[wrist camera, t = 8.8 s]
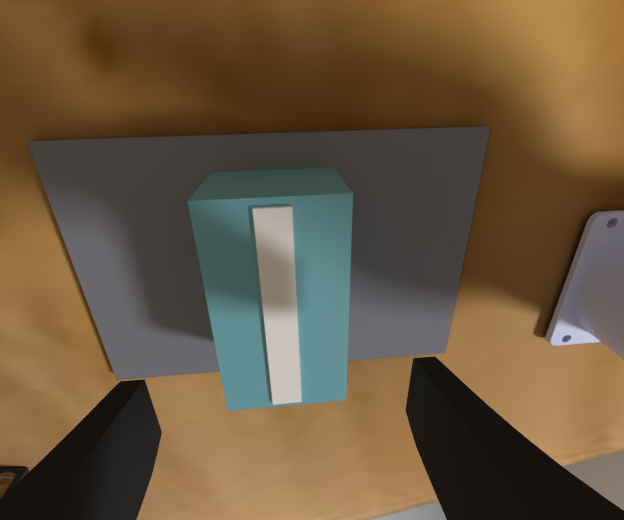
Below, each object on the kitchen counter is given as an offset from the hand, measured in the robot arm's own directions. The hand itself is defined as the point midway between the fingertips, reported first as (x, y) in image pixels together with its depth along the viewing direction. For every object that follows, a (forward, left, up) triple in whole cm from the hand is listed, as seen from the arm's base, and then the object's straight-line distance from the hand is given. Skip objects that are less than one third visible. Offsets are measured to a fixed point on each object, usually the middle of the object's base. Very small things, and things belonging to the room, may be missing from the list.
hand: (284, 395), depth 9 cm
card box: (0, 0, -7) cm, 7 cm away
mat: (0, 0, -8) cm, 8 cm away
